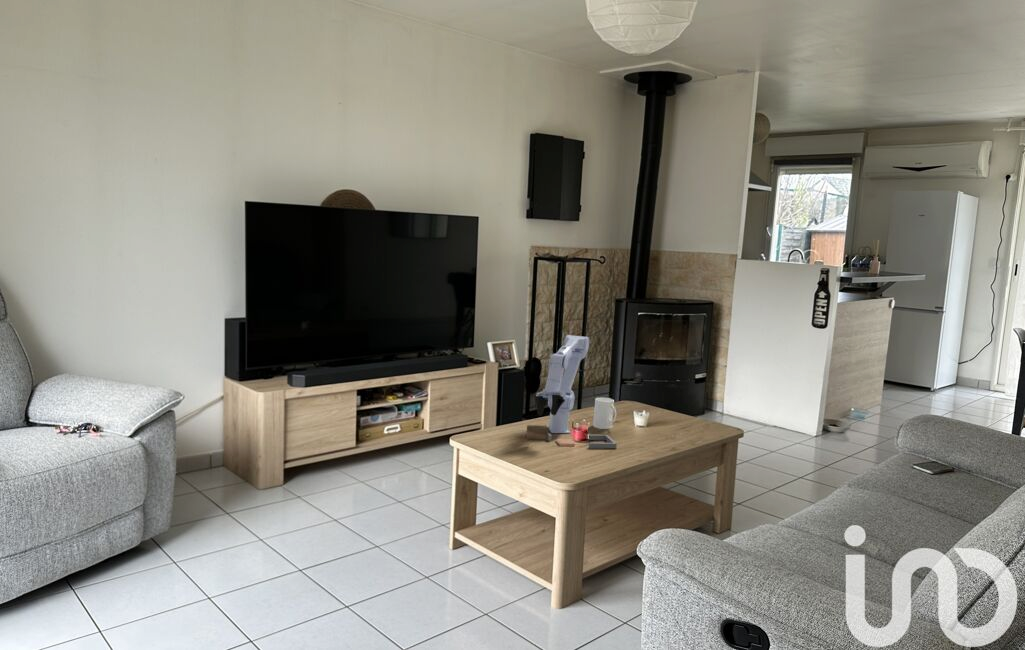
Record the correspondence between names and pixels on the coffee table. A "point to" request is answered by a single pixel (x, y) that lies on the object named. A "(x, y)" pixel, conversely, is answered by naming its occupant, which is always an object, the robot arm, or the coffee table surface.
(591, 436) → the frame
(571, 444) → the tile
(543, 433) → the plank on grey base
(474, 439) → the coffee table surface
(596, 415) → the mug
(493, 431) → the coffee table surface
